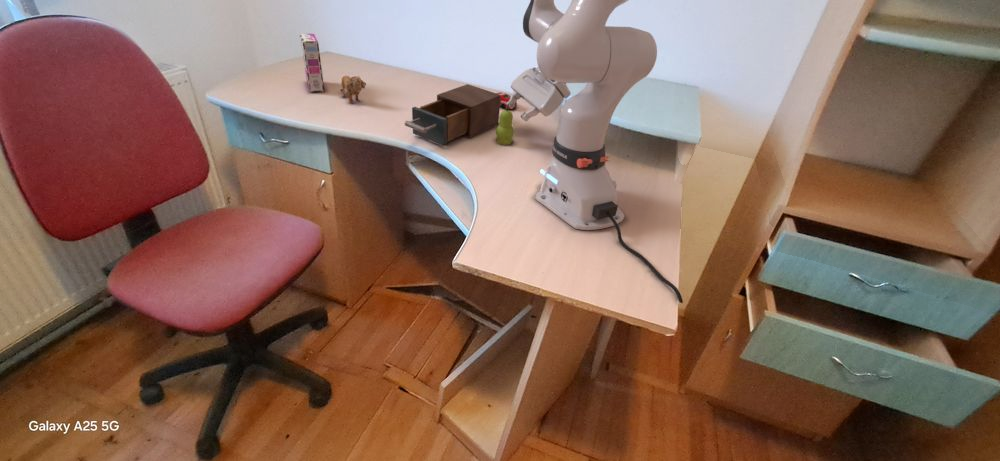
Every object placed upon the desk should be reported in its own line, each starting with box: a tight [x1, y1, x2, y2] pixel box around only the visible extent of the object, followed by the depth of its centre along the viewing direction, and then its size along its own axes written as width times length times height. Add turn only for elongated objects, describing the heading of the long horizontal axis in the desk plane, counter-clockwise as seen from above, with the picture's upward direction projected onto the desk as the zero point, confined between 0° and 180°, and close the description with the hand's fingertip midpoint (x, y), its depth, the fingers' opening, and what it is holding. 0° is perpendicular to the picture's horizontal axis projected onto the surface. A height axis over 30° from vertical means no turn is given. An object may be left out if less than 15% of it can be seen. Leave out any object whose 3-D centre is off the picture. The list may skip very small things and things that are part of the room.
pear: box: [495, 107, 515, 146], centre depth 131 cm, size 5×5×11 cm
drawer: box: [404, 99, 469, 147], centre depth 130 cm, size 19×12×8 cm, turn 145°
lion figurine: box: [340, 75, 367, 105], centre depth 149 cm, size 15×5×9 cm, turn 44°
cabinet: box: [436, 83, 501, 139], centre depth 139 cm, size 15×13×10 cm
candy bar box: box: [299, 33, 326, 93], centre depth 153 cm, size 11×5×16 cm, turn 25°
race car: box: [495, 92, 518, 110], centre depth 158 cm, size 13×5×4 cm, turn 54°
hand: (515, 112), depth 131 cm, fingers open, 8 cm apart
